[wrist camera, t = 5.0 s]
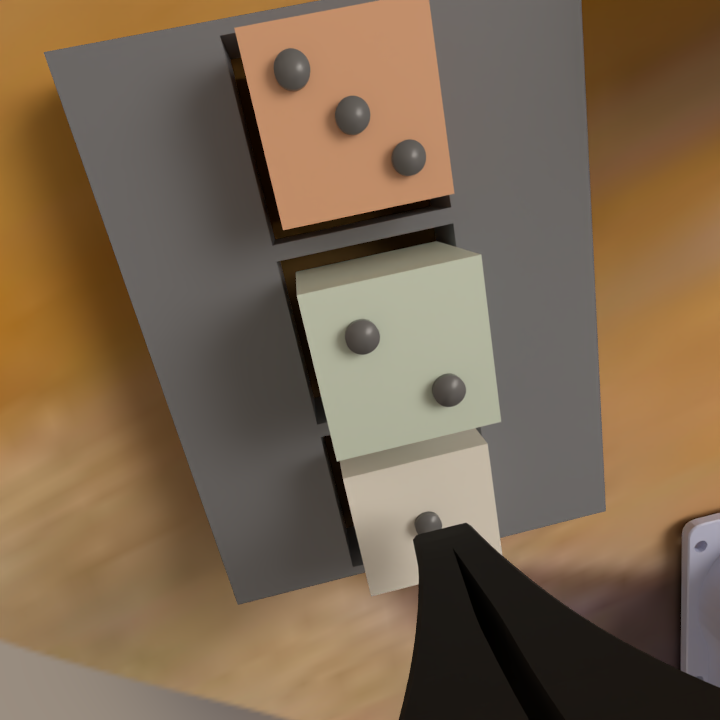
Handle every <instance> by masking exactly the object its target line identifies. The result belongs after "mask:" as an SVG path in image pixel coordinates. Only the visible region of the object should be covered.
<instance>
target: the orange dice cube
mask: <svg viewBox="0 0 720 720" xmlns="http://www.w3.org/2000/svg"><path fill="white" fill-rule="evenodd" d="M234 29H235V33H236V37H237V41H238V46H239V50H240V54H241V58H242V62H243V66H244V70H245V75H246V79H247V83H248V87H249V91H250V95H251V99H252V104H253V108H254V112H255V116H256V120H257V124H258V129H259V133H260V137H261V141H262V145H263V149H264V153H265V158H266V162H267V166H268V170H269V174H270V178H271V182H272V187H273V191H274V195H275V199H276V203H277V207H278V211H279V216H280V220H281V224H282V228H283V230H287V229H291V228H296V227H301V226H305V225H310V224H315V223H319V222H324V221H329V220H333V219H338V218H343V217H348V216H352V215H357V214H362V213H366V212H371V211H376V210H380V209H385V208H390V207H394V206H399V205H404V204H408V203H413V202H418V201H422V200H427V199H432V198H436V197H441V196H446V195H451V194H454V186H453V179H452V171H451V164H450V156H449V148H448V141H447V133H446V125H445V118H444V110H443V103H442V95H441V87H440V80H439V72H438V64H437V57H436V49H435V42H434V34H433V26H432V19H431V11H430V3H429V0H379V1H374V2H368V3H363V4H358V5H352V6H347V7H342V8H337V9H331V10H326V11H321V12H315V13H310V14H305V15H300V16H294V17H289V18H284V19H278V20H273V21H268V22H263V23H257V24H252V25H247V26H241V27H236V28H234Z"/></svg>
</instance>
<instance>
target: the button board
mask: <svg viewBox="0 0 720 720" xmlns="http://www.w3.org/2000/svg"><path fill="white" fill-rule="evenodd" d="M374 1H379V0H320V1H314V2H309V3H304V4H298V5H293V6H288V7H282V8H277V9H272V10H266V11H261V12H256V13H250V14H245V15H240V16H235V17H229V18H224V19H219V20H213V21H208V22H203V23H197V24H192V25H187V26H181V27H176V28H171V29H165V30H160V31H155V32H149V33H144V34H139V35H133V36H128V37H123V38H118V39H112V40H107V41H102V42H96V43H91V44H86V45H80V46H75V47H70V48H64V49H59V50H54V51H48V52H44V54H45V57H46V60H47V63H48V66H49V69H50V71H51V74H52V77H53V80H54V83H55V86H56V88H57V91H58V94H59V97H60V100H61V103H62V106H63V108H64V111H65V114H66V117H67V120H68V123H69V125H70V128H71V131H72V134H73V137H74V140H75V143H76V145H77V148H78V151H79V154H80V157H81V160H82V162H83V165H84V168H85V171H86V174H87V177H88V180H89V182H90V185H91V188H92V191H93V194H94V197H95V199H96V202H97V205H98V208H99V211H100V214H101V216H102V219H103V222H104V225H105V228H106V231H107V234H108V236H109V239H110V242H111V245H112V248H113V251H114V253H115V256H116V259H117V262H118V265H119V268H120V271H121V273H122V276H123V279H124V282H125V285H126V288H127V290H128V293H129V296H130V299H131V302H132V305H133V308H134V310H135V313H136V316H137V319H138V322H139V325H140V327H141V330H142V333H143V336H144V339H145V342H146V345H147V347H148V350H149V353H150V356H151V359H152V362H153V364H154V367H155V370H156V373H157V376H158V379H159V382H160V384H161V387H162V390H163V393H164V396H165V399H166V401H167V404H168V407H169V410H170V413H171V416H172V418H173V421H174V424H175V427H176V430H177V433H178V436H179V438H180V441H181V444H182V447H183V450H184V453H185V455H186V458H187V461H188V464H189V467H190V470H191V473H192V475H193V478H194V481H195V484H196V487H197V490H198V492H199V495H200V498H201V501H202V504H203V507H204V510H205V512H206V515H207V518H208V521H209V524H210V527H211V529H212V532H213V535H214V538H215V541H216V544H217V547H218V549H219V552H220V555H221V558H222V561H223V564H224V566H225V569H226V572H227V575H228V578H229V581H230V583H231V586H232V589H233V592H234V595H235V598H236V601H237V603H238V605H239V604H243V603H247V602H251V601H255V600H259V599H263V598H266V597H270V596H274V595H278V594H282V593H286V592H290V591H294V590H298V589H302V588H306V587H310V586H313V585H317V584H321V583H325V582H329V581H333V580H337V579H341V578H345V577H349V576H353V575H357V574H361V573H364V572H365V568H364V564H363V560H362V556H361V552H360V548H359V543H358V539H357V535H356V531H355V527H354V526H352V527H348V528H346V524H345V520H344V516H343V512H342V508H341V504H340V500H339V496H338V492H337V488H336V484H335V480H334V476H333V472H332V468H331V464H330V459H329V455H328V451H327V447H326V443H325V439H324V436H328V435H330V431H329V427H328V423H327V418H326V414H325V410H324V406H323V402H322V398H321V397H317V398H314V395H313V391H312V387H311V383H310V379H309V375H308V371H307V367H306V363H305V358H304V354H303V350H302V346H301V342H300V338H299V334H298V330H297V326H296V322H295V318H294V314H293V310H292V306H291V302H290V298H289V294H288V290H287V286H286V282H285V278H284V274H283V270H282V266H281V262H280V261H282V260H287V259H291V258H296V257H301V256H305V255H310V254H314V253H319V252H324V251H328V250H333V249H337V248H342V247H347V246H351V245H356V244H360V243H365V242H370V241H374V240H379V239H384V238H388V237H393V236H397V235H402V234H407V233H411V232H416V231H420V230H425V229H430V228H434V231H435V238H436V241H438V242H441V243H444V244H448V245H451V246H454V247H458V248H461V249H464V250H468V251H471V252H475V253H478V254H481V256H482V265H483V273H484V281H485V290H486V298H487V306H488V315H489V323H490V332H491V340H492V348H493V357H494V365H495V374H496V382H497V390H498V399H499V407H500V416H501V422H499V423H494V424H490V425H486V426H482V427H478V428H476V430H477V431H478V432H479V433H480V435H481V436H482V437H483V438H484V440H485V441H486V442H487V443H488V450H489V458H490V465H491V473H492V481H493V488H494V496H495V503H496V511H497V519H498V526H499V534H500V538H502V537H506V536H509V535H513V534H517V533H521V532H525V531H529V530H533V529H537V528H541V527H545V526H549V525H553V524H557V523H560V522H564V521H568V520H572V519H576V518H580V517H584V516H588V515H592V514H596V513H600V512H604V511H606V505H605V484H604V464H603V443H602V422H601V401H600V380H599V360H598V339H597V318H596V297H595V276H594V255H593V235H592V214H591V193H590V172H589V151H588V131H587V110H586V89H585V68H584V47H583V26H582V6H581V0H429V3H430V11H431V19H432V26H433V34H434V42H435V49H436V57H437V64H438V72H439V80H440V87H441V95H442V103H443V110H444V118H445V125H446V133H447V141H448V148H449V156H450V164H451V171H452V179H453V186H454V194H451V195H446V196H441V197H436V198H432V199H430V204H431V206H429V207H425V208H420V209H415V210H411V211H406V212H401V213H397V214H392V215H387V216H383V217H378V218H373V219H369V220H364V221H359V222H355V223H350V224H345V225H341V226H336V227H331V228H327V229H322V230H317V231H313V232H308V233H303V234H299V235H294V236H289V237H285V238H280V239H275V237H274V233H273V229H272V225H271V221H270V217H269V213H268V209H267V205H266V201H265V197H264V193H263V189H262V185H261V181H260V177H259V173H258V169H257V165H256V161H255V157H254V152H253V148H252V144H251V140H250V136H249V132H248V128H247V124H246V120H245V116H244V112H243V108H242V104H241V100H240V96H239V92H238V88H237V84H236V80H235V76H234V72H233V68H232V64H231V60H230V59H234V58H240V57H241V54H240V50H239V46H238V41H237V37H236V33H235V29H234V28H236V27H241V26H247V25H252V24H257V23H263V22H268V21H273V20H278V19H284V18H289V17H294V16H300V15H305V14H310V13H315V12H321V11H326V10H331V9H337V8H342V7H347V6H352V5H358V4H363V3H368V2H374Z"/></svg>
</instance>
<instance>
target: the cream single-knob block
mask: <svg viewBox="0 0 720 720" xmlns="http://www.w3.org/2000/svg"><path fill="white" fill-rule="evenodd" d="M340 465H341V471H342V476H343V481H344V485H345V489H346V494H347V498H348V502H349V506H350V510H351V514H352V519H353V523H354V527H355V531H356V535H357V539H358V543H359V548H360V552H361V556H362V560H363V564H364V568H365V572H366V577H367V581H368V585H369V589H370V593H371V596H375V595H378V594H382V593H386V592H390V591H394V590H398V589H402V588H406V587H409V586H413V585H417V584H419V573H418V563H417V558H416V553H415V548H414V543H413V539H414V538H415V536H416V535H418V534H422V533H426V532H430V531H434V530H438V529H442V528H446V527H450V526H454V525H458V524H462V523H468V524H469V525H471V526H472V527H473V528H474V529H475V530H476V531H477V532H478V533H479V534H480V535H481V536H482V537H483V538H484V539H485V540H486V541H487V542H488V543H489V544H490V545H491V546H492V547H493V548H494V549H496V550H497V551H498V552H499V553H500V554H501V555H502V549H501V542H500V534H499V526H498V519H497V511H496V503H495V496H494V488H493V481H492V473H491V465H490V458H489V450H488V443H487V442H486V441H485V440H484V438H483V437H482V436H481V435H480V433H479V432H478V431H477V430H476V428H474V429H470V430H465V431H461V432H457V433H453V434H449V435H445V436H441V437H436V438H432V439H428V440H424V441H420V442H416V443H412V444H407V445H403V446H399V447H395V448H391V449H387V450H383V451H378V452H374V453H370V454H366V455H362V456H358V457H354V458H349V459H345V460H341V461H340Z"/></svg>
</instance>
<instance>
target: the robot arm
mask: <svg viewBox="0 0 720 720" xmlns="http://www.w3.org/2000/svg"><path fill="white" fill-rule="evenodd" d="M413 543H414V548H415V553H416V558H417V563H418V573H419V594H418V614H417V624H416V635H415V643H414V650H413V656H412V662H411V668H410V673H409V679H408V683H407V688H406V692H405V696H404V701H403V705H402V709H401V713H400V717H399V720H720V513H716V514H712V515H709V516H705V517H701V518H697V519H693V520H691V521H689V522H688V523H687V524H686V525H685V526H684V528H683V531H682V584H681V670H679V669H676V668H674V667H672V666H670V665H668V664H666V663H664V662H662V661H660V660H658V659H656V658H654V657H652V656H650V655H648V654H646V653H644V652H642V651H641V650H639V649H637V648H635V647H633V646H631V645H629V644H627V643H625V642H623V641H621V640H620V639H618V638H616V637H615V636H613V635H611V634H609V633H608V632H606V631H604V630H603V629H601V628H599V627H598V626H596V625H595V624H593V623H591V622H590V621H588V620H587V619H585V618H583V617H582V616H580V615H579V614H577V613H576V612H574V611H573V610H571V609H570V608H569V607H567V606H566V605H564V604H563V603H561V602H560V601H559V600H557V599H556V598H554V597H553V596H552V595H550V594H549V593H548V592H546V591H545V590H544V589H542V588H541V587H540V586H538V585H537V584H536V583H535V582H533V581H532V580H531V579H530V578H528V577H527V576H526V575H525V574H523V573H522V572H521V571H520V570H519V569H517V568H516V567H515V566H514V565H513V564H511V563H510V562H509V561H508V560H507V559H506V558H504V557H503V556H502V555H501V554H500V553H499V552H498V551H497V550H496V549H494V548H493V547H492V546H491V545H490V544H489V543H488V542H487V541H486V540H485V539H484V538H483V537H482V536H481V535H480V534H479V533H478V532H477V531H476V530H475V529H474V528H473V527H472V526H471V525H469V524H468V523H462V524H458V525H454V526H450V527H446V528H442V529H438V530H434V531H430V532H426V533H422V534H418V535H416V536H415V538H414V539H413Z"/></svg>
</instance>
